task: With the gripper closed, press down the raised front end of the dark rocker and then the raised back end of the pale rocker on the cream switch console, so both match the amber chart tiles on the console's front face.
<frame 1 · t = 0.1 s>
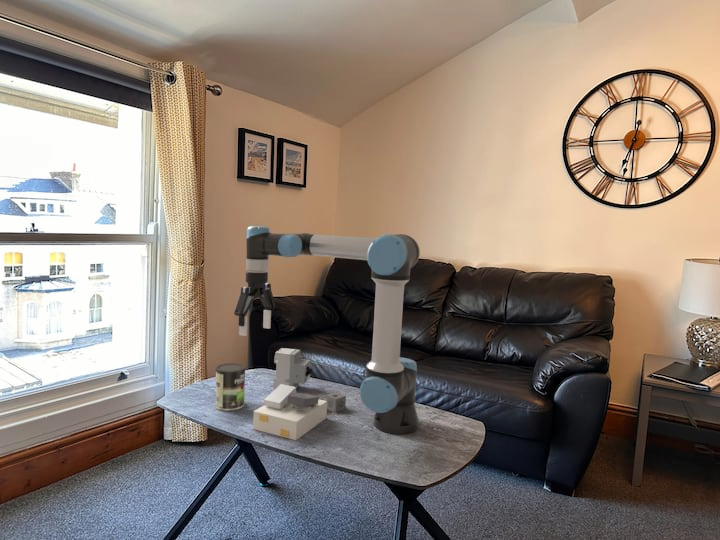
hand: (255, 331, 172), 28 cm above the table, fingers open, 13 cm apart
pale rocker: (280, 396, 164), point 9 cm above the table, hinge at -14.0°
dark rocker: (303, 399, 162), point 9 cm above the table, hinge at 14.0°
circuit breaker: (293, 388, 198), on the table
coffee can: (229, 405, 177), on the table
dice cube: (335, 409, 179), on the table
console: (291, 423, 164), on the table
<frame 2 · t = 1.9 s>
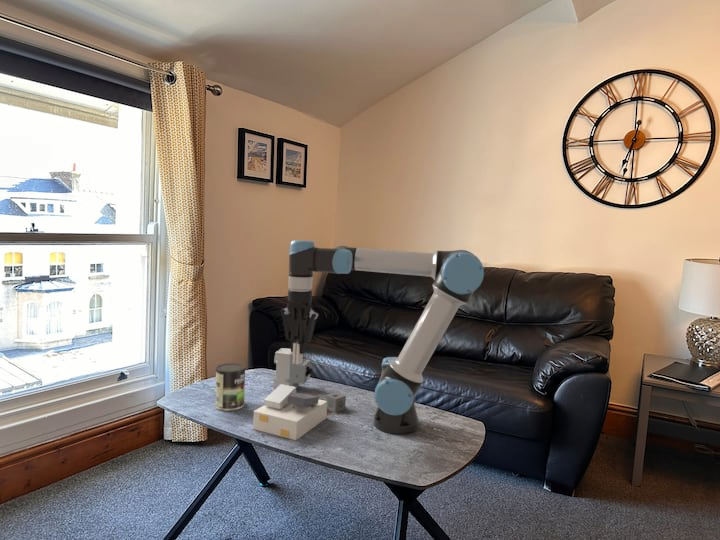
hand: (297, 362, 157), 22 cm above the table, fingers closed
nothing on the table moved.
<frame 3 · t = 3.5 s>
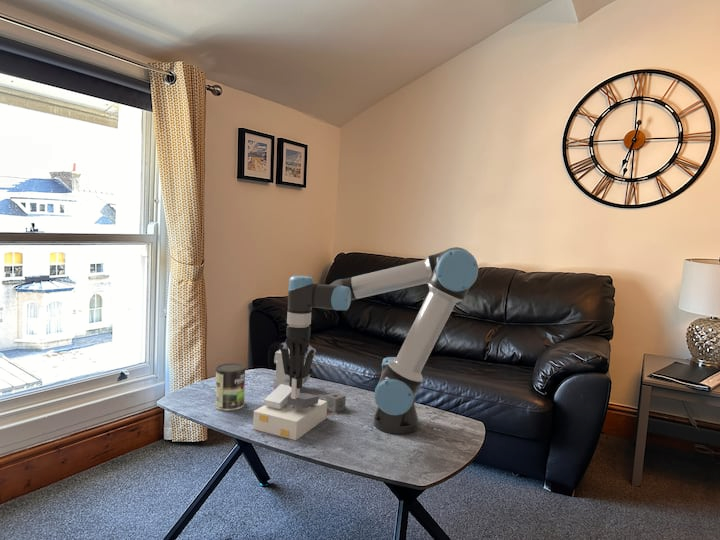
hand: (295, 397, 158), 11 cm above the table, fingers closed
dark rocker: (303, 399, 162), point 9 cm above the table, hinge at 11.8°, touching gripper
everything else where it was.
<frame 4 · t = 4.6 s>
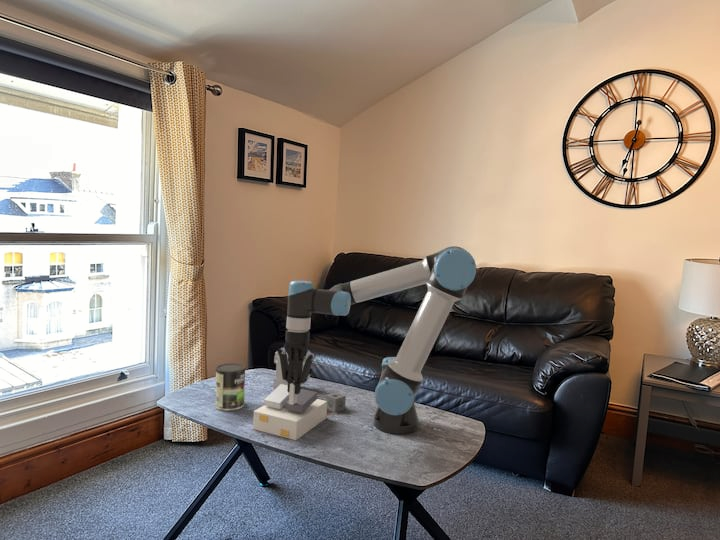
hand: (292, 403, 157), 10 cm above the table, fingers closed
dark rocker: (301, 400, 161), point 9 cm above the table, hinge at -9.1°, touching gripper
everything else where it was.
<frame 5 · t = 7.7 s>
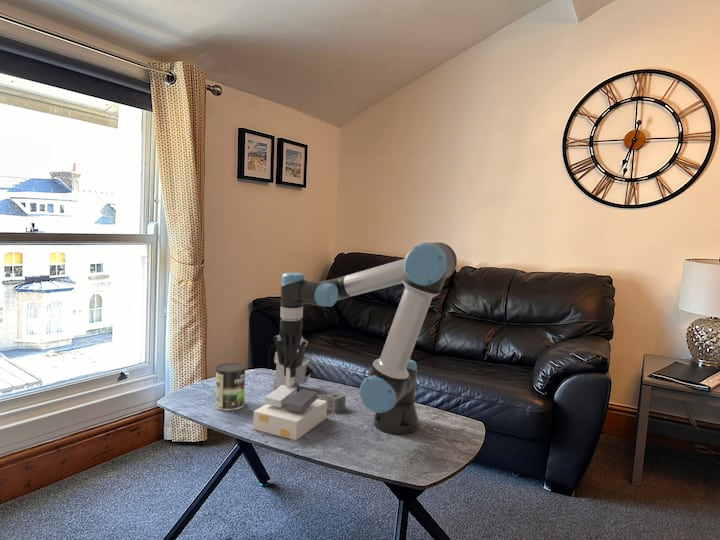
hand: (289, 385, 169), 11 cm above the table, fingers closed
pale rocker: (281, 395, 165), point 9 cm above the table, hinge at -6.8°, touching gripper
dark rocker: (301, 400, 161), point 9 cm above the table, hinge at -9.2°
everything else where it was.
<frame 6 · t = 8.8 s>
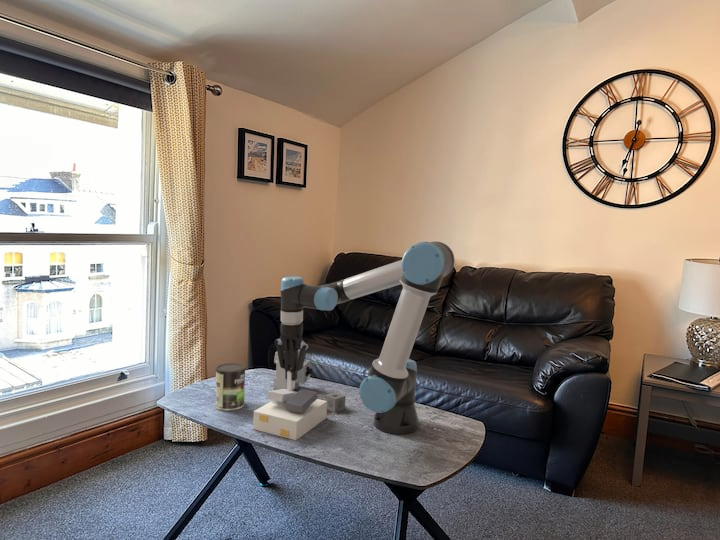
hand: (290, 388, 170), 9 cm above the table, fingers closed
pale rocker: (282, 395, 166), point 9 cm above the table, hinge at 12.8°, touching gripper
everything else where it was.
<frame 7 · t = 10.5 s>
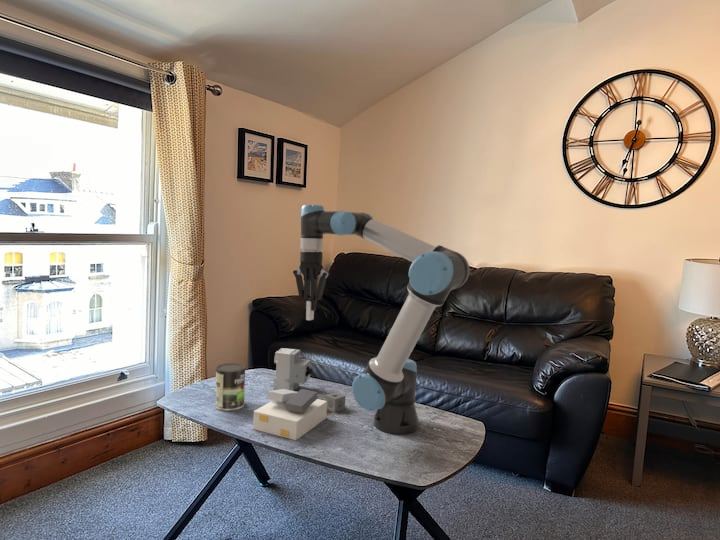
hand: (309, 319, 169), 34 cm above the table, fingers closed
pale rocker: (282, 395, 166), point 9 cm above the table, hinge at 13.0°
everything else where it was.
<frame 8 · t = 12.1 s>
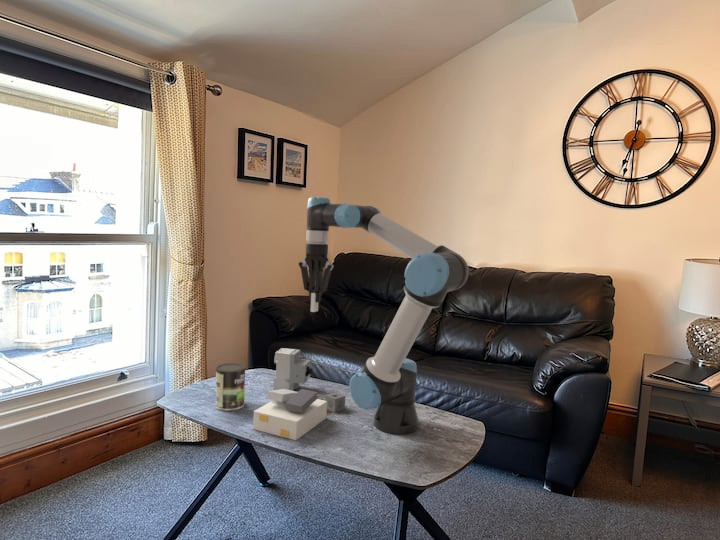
hand: (314, 311, 170), 36 cm above the table, fingers closed
nothing on the table moved.
at the end: dark rocker at -9° (first picture: +14°); pale rocker at +13° (first picture: -14°) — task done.
